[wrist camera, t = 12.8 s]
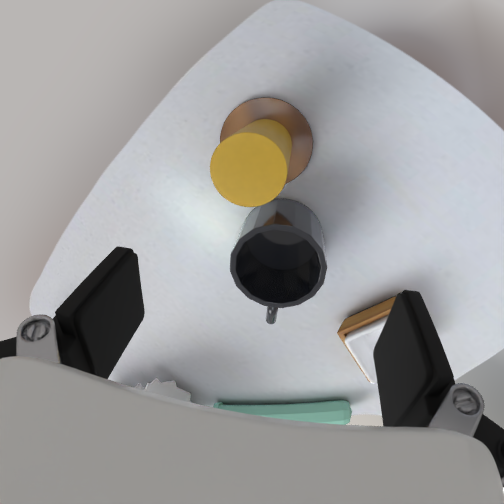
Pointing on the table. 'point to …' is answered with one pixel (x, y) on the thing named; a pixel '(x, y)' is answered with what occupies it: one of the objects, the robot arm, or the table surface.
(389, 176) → the table surface
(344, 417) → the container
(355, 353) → the soap dish
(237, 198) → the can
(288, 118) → the coaster
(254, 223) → the mug
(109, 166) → the table surface
